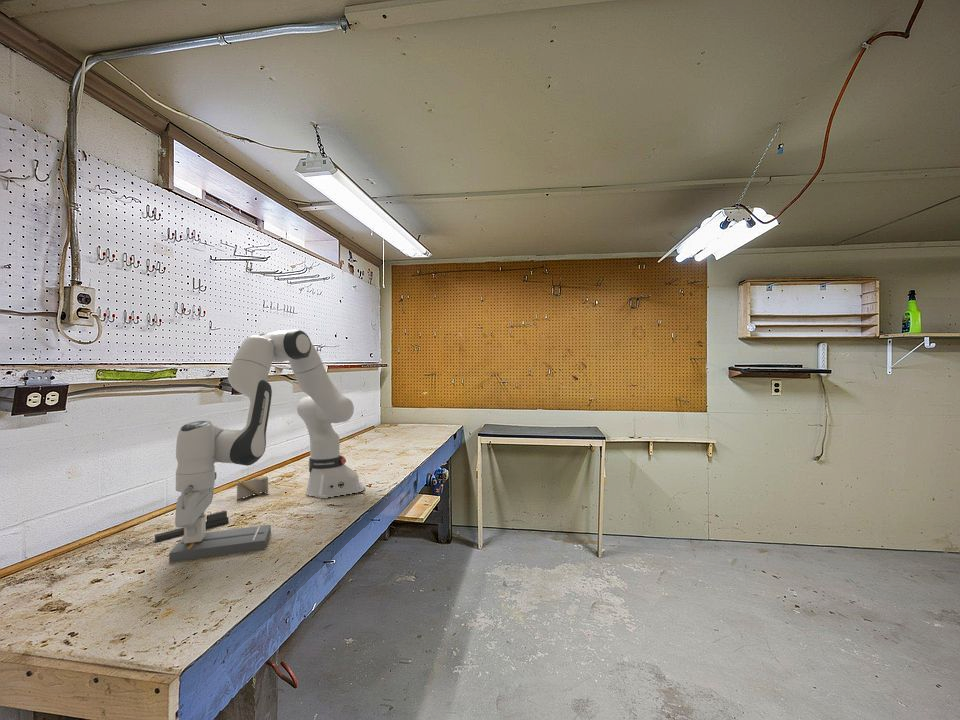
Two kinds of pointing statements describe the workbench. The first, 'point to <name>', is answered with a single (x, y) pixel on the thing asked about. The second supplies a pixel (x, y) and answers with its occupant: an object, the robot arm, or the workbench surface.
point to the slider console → (222, 543)
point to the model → (252, 487)
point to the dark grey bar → (211, 522)
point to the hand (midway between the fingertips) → (195, 531)
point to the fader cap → (200, 530)
